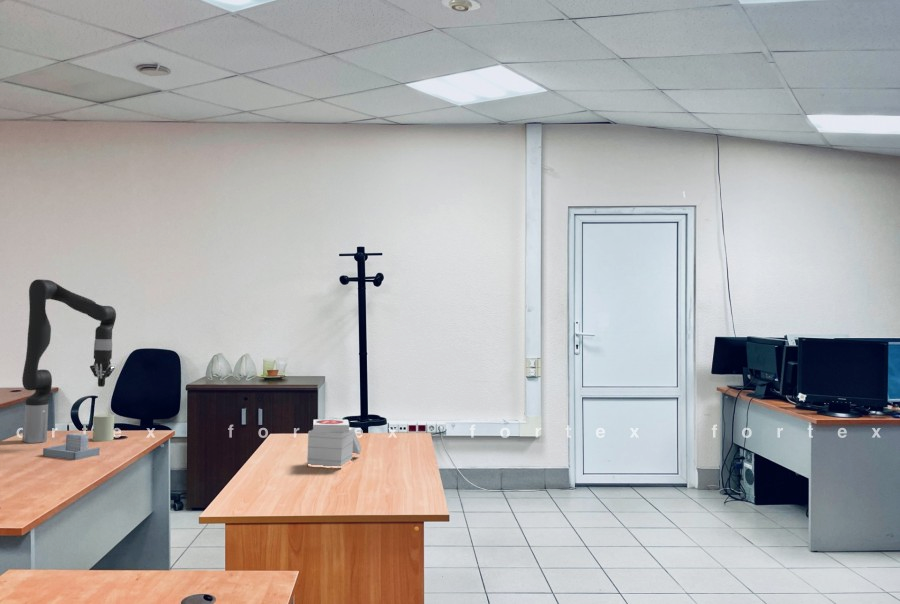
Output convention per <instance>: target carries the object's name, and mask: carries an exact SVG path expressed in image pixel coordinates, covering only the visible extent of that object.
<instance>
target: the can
mask: <svg viewBox="0 0 900 604" xmlns="http://www.w3.org/2000/svg"><path fill="white" fill-rule="evenodd" d="M115 416H116V415H115V414H110V413H101V414H100V413H99V414H94V415H93V422H92V423H93V426H92V427H93V429H92V431H93V432H92V439H91V440H92V441H94V442H109V441H113V440H114V433H115V432H114V429H115V428H114V427H115Z"/></svg>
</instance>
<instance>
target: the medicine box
mask: <svg viewBox="0 0 900 604" xmlns="http://www.w3.org/2000/svg"><path fill="white" fill-rule="evenodd" d="M65 444H66V451H73V452H78V451H83V450H87V449H89V434H87V433H77V432H74V433H69V434H66V436H65Z"/></svg>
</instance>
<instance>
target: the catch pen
mask: <svg viewBox="0 0 900 604" xmlns="http://www.w3.org/2000/svg"><path fill="white" fill-rule="evenodd" d="M42 449H43V450H42V456H45V457H52V458H58V459H66V460H71V461H72V460H73V461H76V460H81V459H85V458H91V457H95V456H100V447H94V448H93V447H92V448H88V449H87V450H83V451H78V452H73V451H66V443H64V444H60V445H55V446H54V445H53V446H49V447H44V448H42Z"/></svg>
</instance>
